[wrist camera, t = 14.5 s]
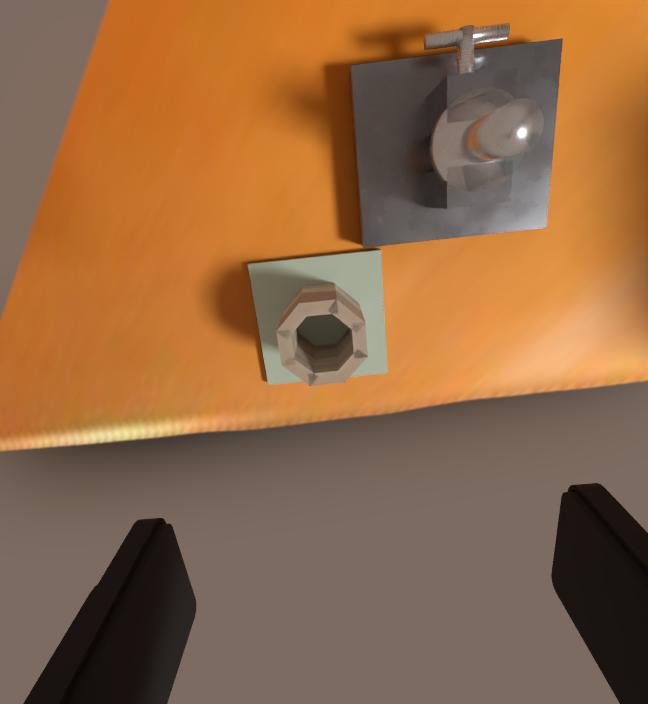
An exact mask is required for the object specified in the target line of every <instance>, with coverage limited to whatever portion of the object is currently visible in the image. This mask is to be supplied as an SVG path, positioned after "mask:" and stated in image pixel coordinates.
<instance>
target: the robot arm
mask: <svg viewBox="0 0 648 704" xmlns="http://www.w3.org/2000/svg"><path fill="white" fill-rule="evenodd" d="M552 583H553V586H554V589H555V591H556V593H557V595H558V597H559V598H560V600H561V602H562V604H563V605H564V607H565V609H566V611H567V612H568V614H569V616H570V618H571V619H572V621H573V623H574V624H575V626H576V628H577V630H578V631H579V633H580V635H581V637H582V638H583V640H584V642H585V644H586V645H587V647H588V649H589V650H590V652H591V654H592V656H593V658H594V659H595V661H596V663H597V664H598V666H599V668H600V670H601V671H602V673H603V675H604V677H605V678H606V680H607V682H608V684H609V685H610V687H611V688H612V690H613V692H614V694H615V696H616V697H617V699H618V701H619V703H620V704H648V533H647V532H646V531H645V530H644V529H643V528H642V527H641V526H640V524H639V523H638V522H637V521H636V520H635V519H634V518H633V517H632V516H631V515H630V514H629V513H628V512H627V511H626V510H625V509H624V508H623V507H622V505H621V504H620V503H619V502H618V501H617V500H616V499H615V498H614V497H613V496H612V495H611V494H610V493H609V492H608V491H607V490H606V489H605V488H604V487H603V486H602V485H601V484H598V483H594V484H581V485H571V486H570V487H569V489H568V492H565V493H563V494H562V498H561V505H560V513H559V521H558V528H557V536H556V544H555V552H554V559H553V567H552ZM195 613H196V599H195V596H194V593H193V589H192V586H191V583H190V580H189V577H188V574H187V571H186V568H185V564H184V561H183V558H182V555H181V552H180V549H179V546H178V543H177V539H176V536H175V533H174V530H173V527H172V525H171V524H166V522H165V520H164V519H163V518H156V519H143V520H138V521H136V522H135V523H134V525H133V526H132V528H131V530H130V532H129V533H128V535H127V536H126V538H125V540H124V541H123V543H122V545H121V546H120V548H119V550H118V552H117V553H116V555H115V557H114V558H113V560H112V562H111V564H110V565H109V567H108V568H107V570H106V572H105V573H104V575H103V577H102V578H101V580H100V582H99V583H98V585H97V586H95V587H94V589H93V590H92V591H91V593H90V594H89V596H88V597H87V599H86V601H85V602H84V604H83V606H82V607H81V609H80V611H79V612H78V614H77V616H76V618H75V619H74V621H73V622H72V624H71V626H70V627H69V629H68V631H67V633H66V634H65V636H64V637H63V639H62V641H61V642H60V644H59V646H58V647H57V649H56V651H55V652H54V654H53V656H52V657H51V659H50V660H49V662H48V664H47V665H46V667H45V669H44V670H43V672H42V674H41V675H40V677H39V679H38V681H37V682H36V684H35V685H34V687H33V689H32V690H31V692H30V694H29V695H28V697H27V699H26V700H25V702H24V704H167V702H168V699H169V696H170V693H171V690H172V687H173V684H174V680H175V677H176V674H177V671H178V668H179V665H180V662H181V658H182V655H183V652H184V649H185V646H186V643H187V640H188V636H189V633H190V630H191V627H192V624H193V621H194V618H195Z"/></svg>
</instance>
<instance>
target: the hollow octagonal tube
mask: <svg viewBox="0 0 648 704" xmlns="http://www.w3.org/2000/svg"><path fill="white" fill-rule="evenodd" d="M326 314H333V315H334V316H335V317H337V318H338V319H339V320H341V321H342V322H343V323H344V324H346V325H347V326H348V327H349V329H348V331H347V332H346V333H345V334H344V335H343V336H342V337H341V339H340V340H339V341H338V342H337V343H336V344H331V345H321V346H315V345H313V344H312V343H311V342H309V341H308V340H307V339H305V338H304V337H303V336H301V335H300V334H299V330H298V326H299V325H300V324H301V323H302V321H303V320H304V319H305V318H306V317H307V316H316V315H326ZM365 323H366V322H365V319H364V317H363V314H362V311H361V308H360V305H359V302H357V301H356V300H355V299H353V298H352V297H351V296H350V295H349V294H347V293H346V292H345V291H344V290H342V289H341V288H340V287H339V286H337V285H336V284H335V283H331V284H321V285H312V286H303V287H302V288H301V290H300V291H299V292H298V294H297V295H296V296H295V297H294V299H293V300H292V301H291V302H290V304H289V305H288V306H287V307H286V309H285V310H284V312H283V314H282V317H281V320H280V323H279V325H278V328H277V331H276V333H277V339H278V345H279V352H280V358H281V365H282V366H283V367H284V368H286V369H287V370H289V371H290V372H291V373H293V374H294V375H295V376H297V377H298V378H300V379H301V380H302V381H304V382H305V383H306V384H308V385H309V386H313V385H324V384H334V383H345V382H346V380H347V379H348V378H349V377H350V376H351V375H352V374H353V373H354V372H355V371H356V369H357V368H358V367H359V366H360V365H361V364H362V363H363V362H364V361H365V360H366V358H367V357H368V352H367V338H366V324H365Z"/></svg>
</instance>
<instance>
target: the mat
mask: <svg viewBox="0 0 648 704" xmlns="http://www.w3.org/2000/svg"><path fill="white" fill-rule="evenodd" d="M248 270H249V276H250V282H251V288H252V293H253V299H254V305H255V311H256V317H257V323H258V328H259V334H260V340H261V346H262V352H263V358H264V363H265V369H266V375H267V381H268V385H273V384H283V383H293V382H304V381H302V380H301V379H300V378H298V377H297V376H295V375H294V374H293V373H291V372H290V371H289V370H287V369H286V368H284V367H283V366H282V365H281V358H280V352H279V345H278V339H277V333H276V331H277V328H278V325H279V323H280V320H281V317H282V314H283V312H284V310H285V309H286V307H287V306H288V305H289V304H290V302H291V301H292V300H293V299H294V297H295V296H296V295H297V294H298V292H299V291H300V290H301V288H302V287H303V286H312V285H321V284H331V283H335V284H336V285H337V286H339V287H340V288H341V289H342V290H344V291H345V292H346V293H347V294H349V295H350V296H351V297H352V298H353V299H355V300H356V301H357V302H359V305H360V308H361V311H362V314H363V317H364V319H365V322H366V323H365V324H366V338H367V352H368V357H367V358H366V360H365V361H364V362H363V363H362V364H361V365H360V366H359V367H358V368H357V369H356V371H355V372H354V373H353V374H352V375H351V376H350V377H355V376H365V375H376V374H386V373H388V370H387V352H386V333H385V315H384V297H383V279H382V260H381V250H380V249H378V250H369V251H360V252H350V253H341V254H332V255H323V256H314V257H304V258H295V259H286V260H277V261H267V262H258V263H249V264H248ZM348 329H349V327H348V326H347V325H346V324H344V323H343V322H342V321H341V320H339V319H338V318H337V317H335V316H334V315H333V314H326V315H316V316H307V317H306V318H305V319H304V320H303V321H302V323H301V324H300V325H299V326H298V330H299V334H300V335H301V336H303V337H304V338H305V339H307V340H308V341H309V342H311V343H312V344H313V345H315V346H321V345H331V344H336V343H337V342H338V341H339V340H340V339H341V337H342V336H343V335H344V334H345V333H346V332H347V331H348Z"/></svg>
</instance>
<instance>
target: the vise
mask: <svg viewBox="0 0 648 704" xmlns="http://www.w3.org/2000/svg"><path fill="white" fill-rule="evenodd" d="M509 31H510V26H509V23H505V24H498V25H490V26H482V27H475V26H473V25H469V26H464V27H462V28H460V29H458V30H451V31H443V32H435V33H427V34H425V36H424V50H429V49H437V48H445V47H453V46H457V52H453V53H445V54H437V55H429V56H421V57H413V58H405V59H397V60H389V61H381V62H373V63H365V64H357V65H351V68H350V73H349V77H350V91H351V105H352V119H353V133H354V147H355V161H356V175H357V189H358V203H359V217H360V231H361V245H362V246H363V247H364V248H365V247H374V246H383V245H393V244H402V243H411V242H420V241H429V240H439V239H448V238H457V237H466V236H475V235H484V234H494V233H503V232H512V231H521V230H530V229H540V228H546V226H547V215H548V203H549V191H550V180H551V168H552V156H553V145H554V133H555V122H556V110H557V98H558V87H559V75H560V63H561V52H562V40H563V39H555V40H548V41H540V42H532V43H524V44H516V45H508V46H500V47H492V48H484V49H476V50H474V44H476V43H484V42H492V41H500V40H506V39H507V38H508V35H509Z"/></svg>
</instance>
